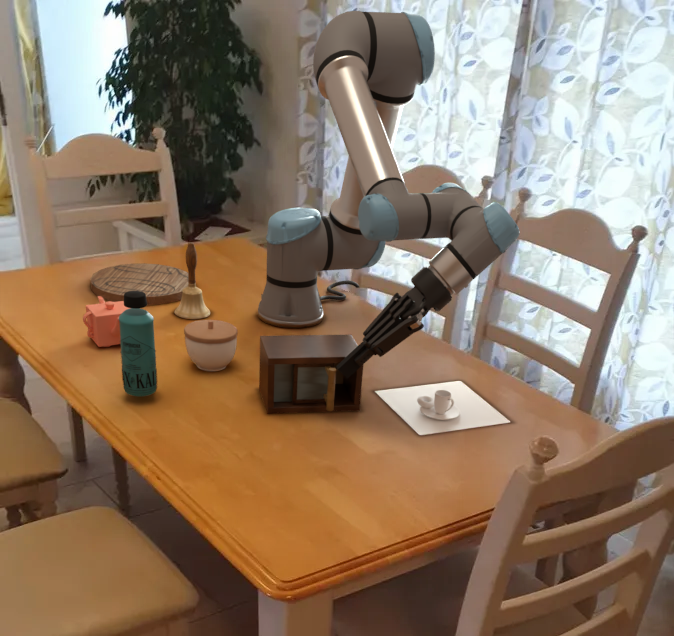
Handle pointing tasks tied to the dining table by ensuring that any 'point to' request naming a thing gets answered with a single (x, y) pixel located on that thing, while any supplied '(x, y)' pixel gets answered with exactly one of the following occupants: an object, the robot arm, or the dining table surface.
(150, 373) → the beverage bottle
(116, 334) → the teapot
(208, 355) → the trinket box
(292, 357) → the cabinet
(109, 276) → the trivet
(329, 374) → the door
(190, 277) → the hand bell
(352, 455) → the dining table surface
